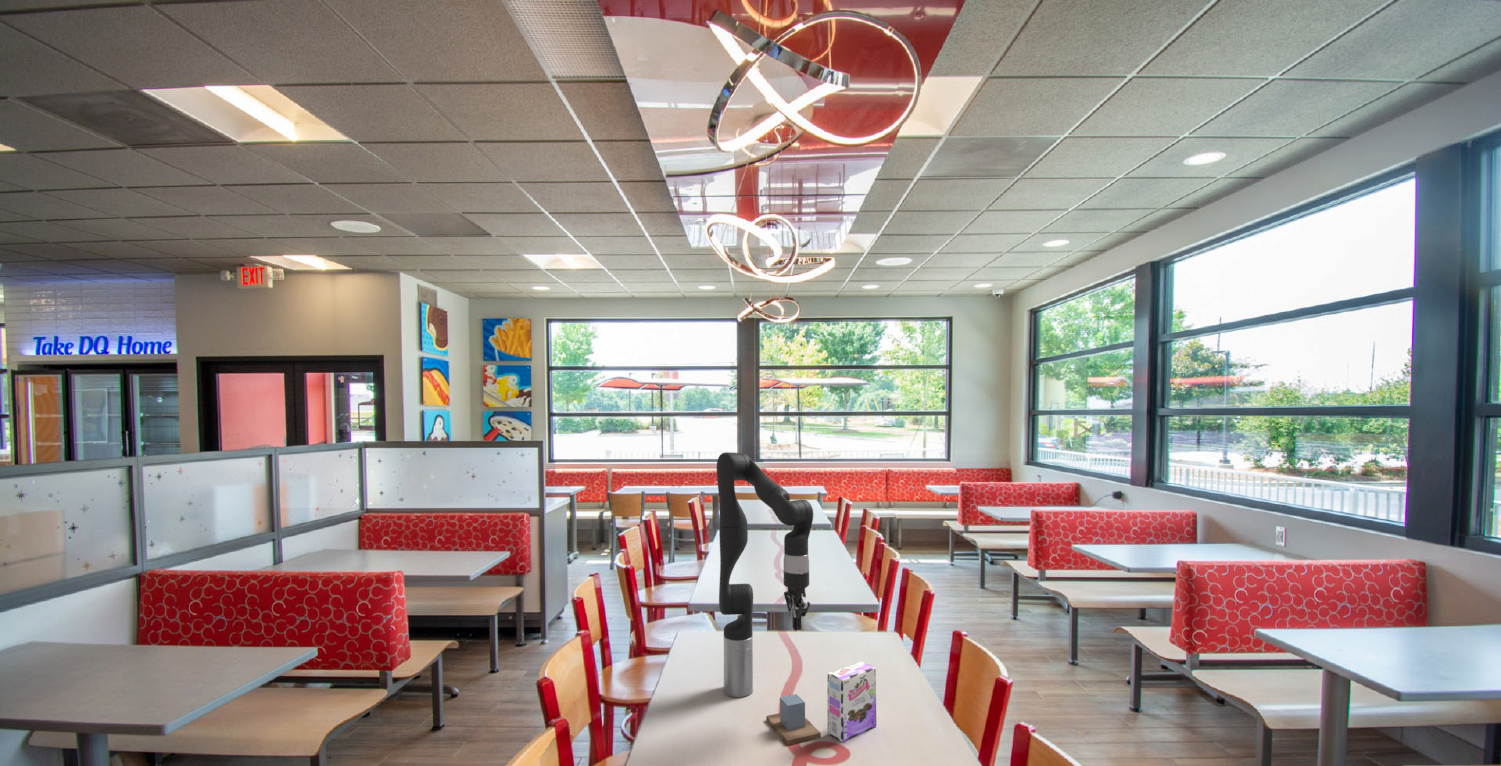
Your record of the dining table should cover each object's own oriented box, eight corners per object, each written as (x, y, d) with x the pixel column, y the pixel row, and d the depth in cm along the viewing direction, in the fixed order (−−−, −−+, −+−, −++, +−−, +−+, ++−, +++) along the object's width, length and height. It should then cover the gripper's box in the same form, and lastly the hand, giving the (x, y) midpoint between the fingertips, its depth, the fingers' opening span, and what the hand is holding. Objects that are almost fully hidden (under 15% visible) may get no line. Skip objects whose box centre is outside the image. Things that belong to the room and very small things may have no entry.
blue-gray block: (780, 721, 167) (780, 697, 167) (796, 717, 169) (796, 694, 169) (788, 730, 162) (788, 705, 163) (805, 726, 164) (804, 702, 165)
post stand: (766, 720, 170) (766, 696, 170) (797, 713, 174) (797, 689, 174) (787, 745, 157) (787, 719, 158) (820, 737, 161) (820, 712, 161)
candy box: (842, 743, 158) (841, 679, 159) (826, 733, 163) (826, 672, 164) (877, 726, 166) (876, 666, 167) (861, 718, 171) (861, 659, 172)
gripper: (775, 565, 179) (775, 623, 178) (794, 576, 166) (795, 639, 165) (797, 562, 181) (798, 620, 181) (818, 573, 169) (819, 635, 168)
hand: (796, 629), depth 173 cm, fingers closed
